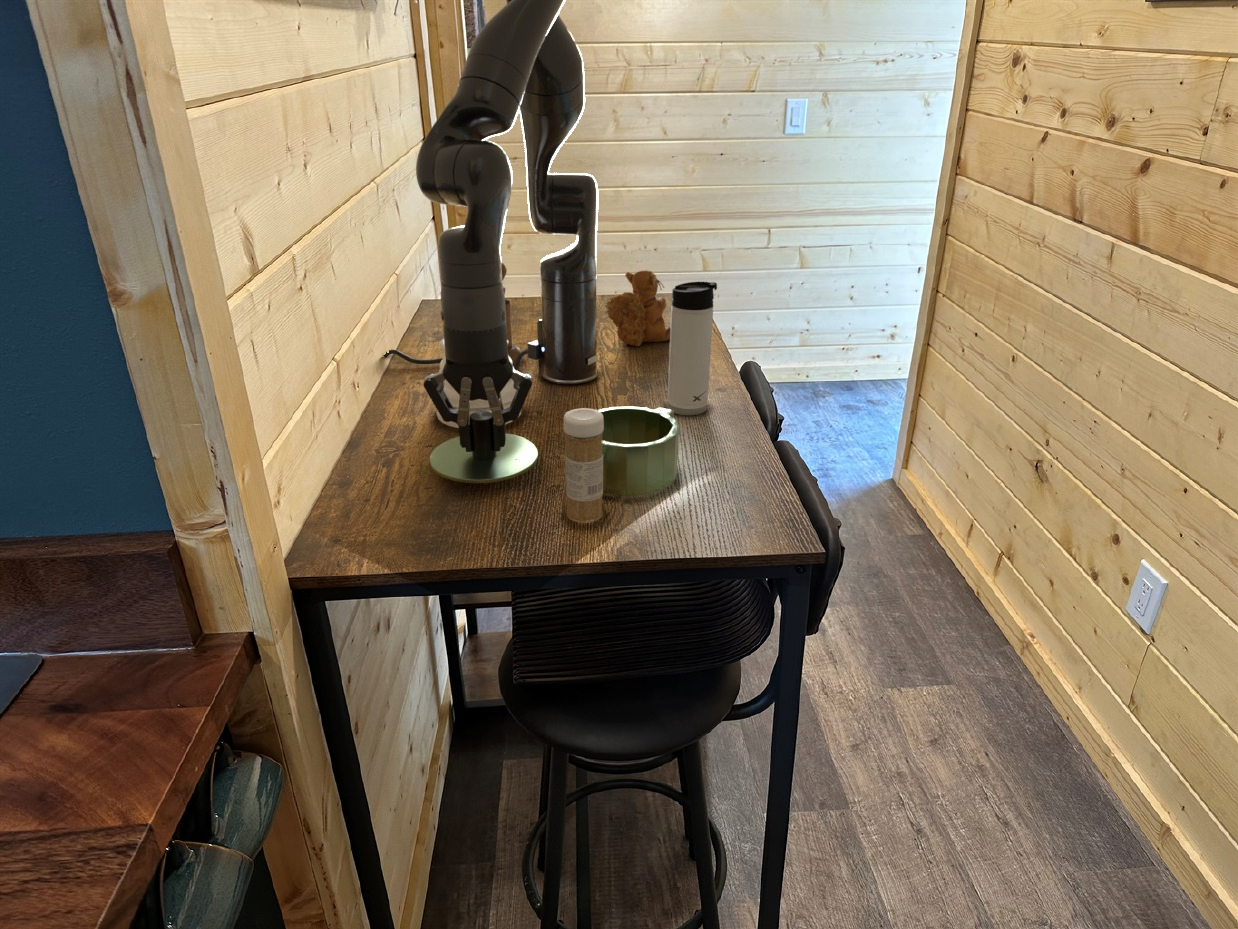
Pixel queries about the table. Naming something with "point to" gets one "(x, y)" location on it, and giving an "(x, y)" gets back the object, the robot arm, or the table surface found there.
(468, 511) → the table surface
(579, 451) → the sprinkles bottle
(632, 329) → the stuffed squirrel
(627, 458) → the pot
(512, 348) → the mortar and pestle
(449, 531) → the table surface
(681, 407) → the travel mug
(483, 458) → the lid
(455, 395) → the honey pot
